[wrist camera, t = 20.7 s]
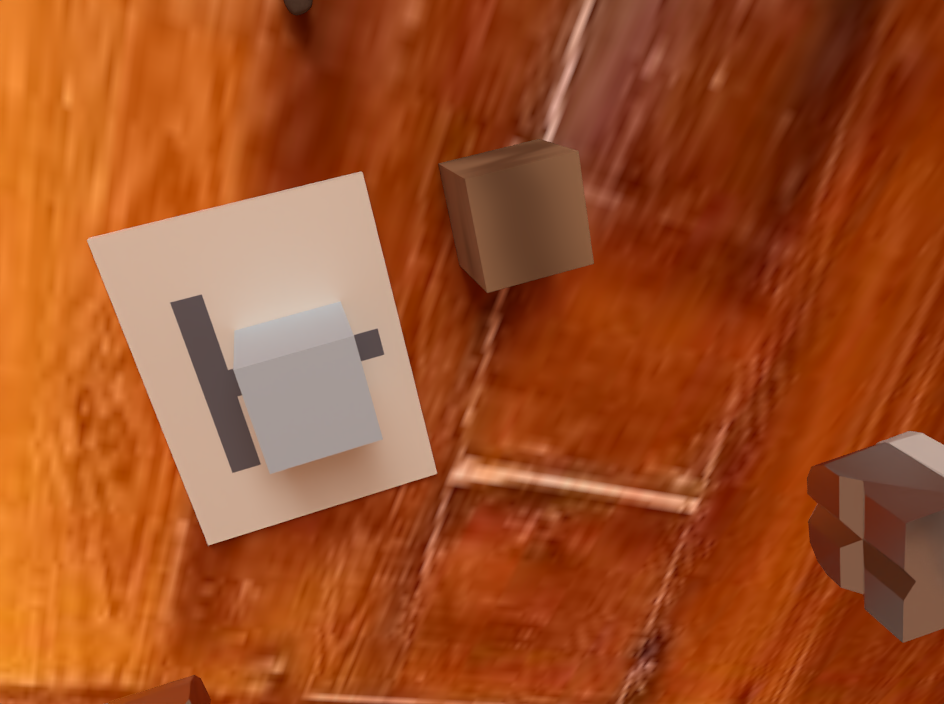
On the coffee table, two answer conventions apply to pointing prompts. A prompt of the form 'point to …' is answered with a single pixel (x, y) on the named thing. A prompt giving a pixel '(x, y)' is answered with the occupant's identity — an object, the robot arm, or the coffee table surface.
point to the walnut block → (518, 213)
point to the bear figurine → (298, 6)
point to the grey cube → (304, 387)
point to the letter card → (250, 303)
